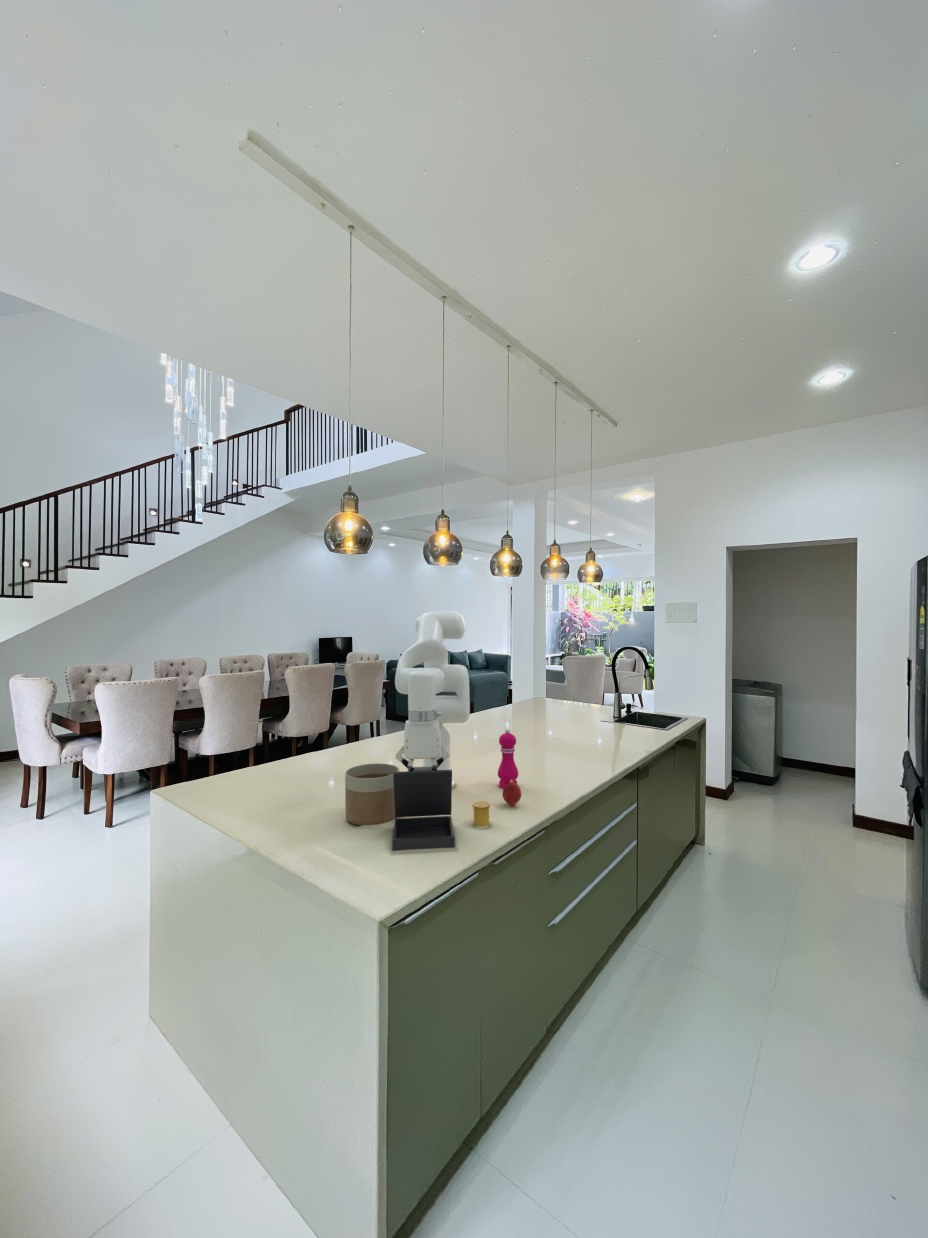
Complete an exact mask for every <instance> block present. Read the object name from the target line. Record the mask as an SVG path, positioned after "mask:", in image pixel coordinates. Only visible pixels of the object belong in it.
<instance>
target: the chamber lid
mask: <svg viewBox="0 0 928 1238" xmlns="http://www.w3.org/2000/svg"><path fill="white" fill-rule="evenodd" d="M413 768H414V771H408V770H407V771H405V770H404V771H399V772H393V780H394V803H395V817H397V818H411V817H433V816H452V801H453V788H452V780H453V769H450V770H432V766H431V767H423V766H413Z"/></svg>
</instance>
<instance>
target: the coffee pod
mask: <svg viewBox="0 0 928 1238" xmlns="http://www.w3.org/2000/svg"><path fill="white" fill-rule="evenodd" d="M471 806H472V808H473V825H474V826H477V827H486V826H489V825H490V808H491V804H490V802H488V801H475V802H473V803H472V805H471Z"/></svg>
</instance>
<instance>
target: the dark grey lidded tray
mask: <svg viewBox="0 0 928 1238" xmlns="http://www.w3.org/2000/svg"><path fill="white" fill-rule="evenodd" d="M393 824H394V825H393V831H392V840H391V841H392V842H391V843H392V845H391V848H392V851H407V850H410V851H411V850H428V849H449V848H456V836H455V830H454V824H453V818H452V815H439V816H416V817H397V818H395V819H394V823H393Z"/></svg>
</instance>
